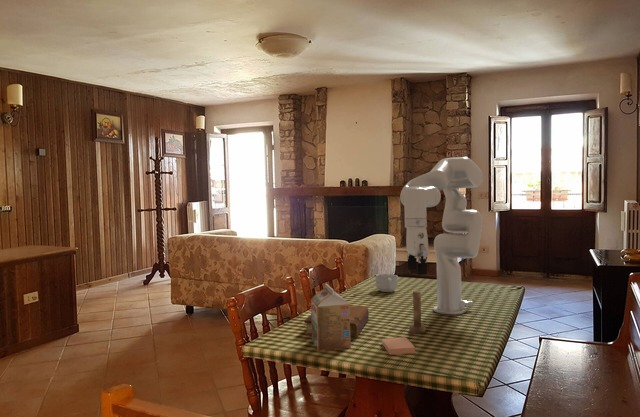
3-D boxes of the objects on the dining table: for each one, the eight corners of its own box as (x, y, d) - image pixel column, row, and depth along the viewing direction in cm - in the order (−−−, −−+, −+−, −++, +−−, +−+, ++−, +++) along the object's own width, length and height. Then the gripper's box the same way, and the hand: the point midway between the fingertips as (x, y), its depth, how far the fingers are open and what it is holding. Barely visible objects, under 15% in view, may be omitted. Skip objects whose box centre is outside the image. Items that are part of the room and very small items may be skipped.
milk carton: (350, 347, 149) (349, 288, 149) (318, 350, 147) (316, 291, 146) (342, 337, 160) (340, 282, 159) (311, 340, 158) (310, 284, 157)
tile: (405, 337, 153) (415, 347, 143) (405, 343, 153) (415, 354, 143) (381, 338, 152) (389, 349, 142) (381, 345, 152) (389, 356, 142)
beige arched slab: (357, 340, 159) (356, 323, 158) (304, 336, 164) (304, 320, 163) (368, 320, 181) (368, 306, 180) (322, 318, 186) (321, 304, 186)
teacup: (376, 288, 236) (375, 273, 236) (397, 288, 235) (397, 273, 234) (375, 295, 222) (375, 278, 222) (398, 295, 221) (398, 278, 221)
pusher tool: (422, 328, 167) (421, 289, 167) (428, 333, 162) (427, 293, 161) (407, 329, 166) (406, 290, 166) (412, 334, 161) (411, 294, 160)
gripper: (435, 224, 155) (437, 275, 156) (417, 220, 172) (418, 266, 173) (414, 225, 154) (415, 277, 155) (397, 221, 171) (399, 268, 172)
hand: (417, 271), depth 164 cm, fingers open, 9 cm apart
